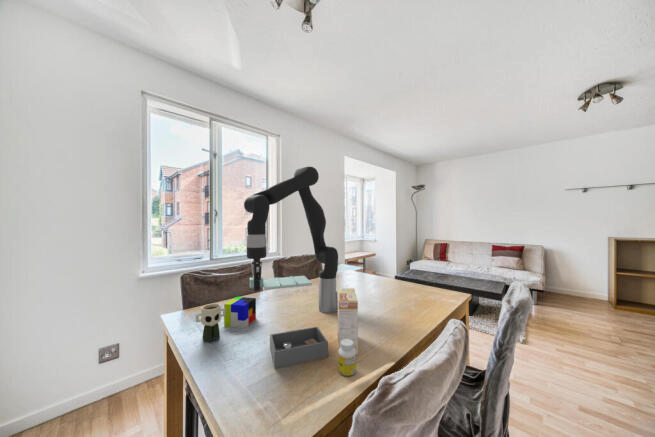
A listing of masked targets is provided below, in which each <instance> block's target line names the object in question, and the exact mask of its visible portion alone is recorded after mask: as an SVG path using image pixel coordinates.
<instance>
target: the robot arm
mask: <svg viewBox="0 0 655 437" xmlns="http://www.w3.org/2000/svg"><path fill="white" fill-rule="evenodd" d="M319 177H320V176H319V172H318V170H317V169H316V168H315V167H313V166H305V167H301V168H298V169H295V171H294V173H293V177H291V178H287V179H286V180H283V181H281V182H278V183H276V184H274V185H272V186H270V187H268V188H266V189H265V190H262V191H259V192H256V193H254V194H252V195H249V196H248V197H247V198H246V199H245V200H244V201H243V202H244V203H243V207H244V210H245V211H246V212H248V213H250V214H252V215H251V216H252V217H251V219H249V220H248V221H247V227H246V228H247V229H246V230H247V232H246V233H247V235H246V258H247V259H250V260H252V261H251V264H250V265H251V273H252V274H251V275H252V278H253V277H254V279H253V280H254V288H253V291H255V292H259V291H260V290H261V287H260V280H261V277H262V274H263V273H262V272H263V271H262V268H263V261H261V259H265V258H267V234H266V232H267V231H266V230H267V229H266V228H267V226H266V224H267V220H268V216H269V212H270V205H271V206H272V205H275V204H277V203H278V202H280V201H282V200H284V199H286V198H287V197H289V196H290V195H292V194H294V193H296V192H298V194H299V197H300V200H301V202H302V207H303V209H304V213H305V217H306V221H307V224H308V226H309V231H310V234H311V239H312V244H313V249H314V255H315V259H316V260H317V262H318V263H321V264H324V267H323V268H324V269H320V271H318V311H319V312H321V313H326V314H329V313H334V312H336V311H338V290H337V273H338V269H339V267H338V266H339V252H338V250H337V248H336V247H333V246H329V245H327V244H326V240H325V230H326V225H327V220H326V216H325V212H324V208H323V207H322V205H321V204H320V203H319V202H318V201H317V200H316V199H315V197H314V195H313V193H312V191H311V188H310V187H311V186H314V185H316V184H317V183H318V182H319Z"/></svg>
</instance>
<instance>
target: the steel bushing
mask: <svg viewBox="0 0 655 437" xmlns="http://www.w3.org/2000/svg"><path fill="white" fill-rule="evenodd" d="M288 348H292V343H291V342H285V343H283V349H288Z"/></svg>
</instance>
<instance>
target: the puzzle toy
mask: <svg viewBox="0 0 655 437" xmlns="http://www.w3.org/2000/svg"><path fill="white" fill-rule="evenodd" d="M256 303H257V298H256V297H247V296H246V297H243V296H236V297H234V298H232V299H231V300H229V301H227V302H225V303H224V304H223V308H225V309H226V315H225V316H223V325H224V327H228V328H237V329H238V328H239V329H245V328H247V327H248V326H249V325H251V323H253V322H254V321H255V320H257V304H256Z"/></svg>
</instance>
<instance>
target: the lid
mask: <svg viewBox="0 0 655 437" xmlns="http://www.w3.org/2000/svg"><path fill="white" fill-rule="evenodd" d="M253 279H254V277H253V276H252V277H249V288H250V289H254V280H253ZM306 286H307V287H308V286H310V287H311V286H313V282H312V281H311V280H310V279H308V278H307V276H306V275H298V276H293V275H290V276H287V277H277V276H275V277H273V278H264V277H263V276H261V280H260V288H263V289H264V291H269V290H279V289H288V288H289V289H290V288H298V287H306Z"/></svg>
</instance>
